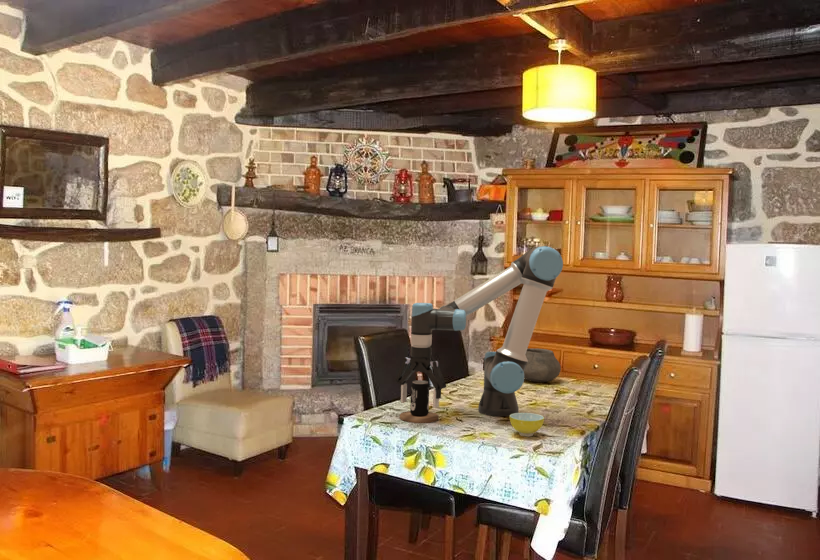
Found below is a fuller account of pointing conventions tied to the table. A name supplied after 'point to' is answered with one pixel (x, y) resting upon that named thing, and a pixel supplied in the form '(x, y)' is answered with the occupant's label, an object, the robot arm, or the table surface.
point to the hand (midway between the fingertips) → (419, 404)
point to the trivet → (414, 419)
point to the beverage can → (419, 398)
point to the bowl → (526, 423)
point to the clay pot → (541, 365)
